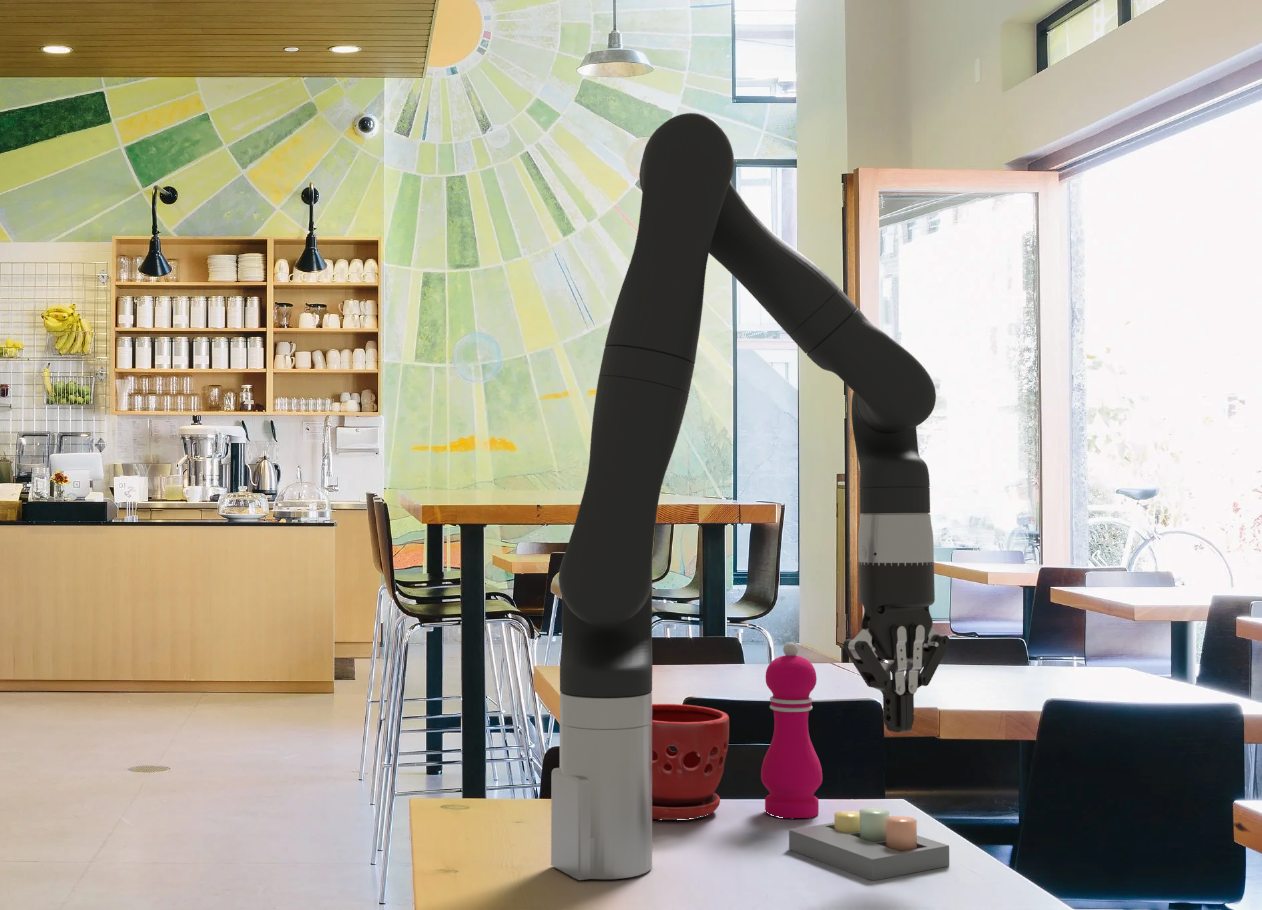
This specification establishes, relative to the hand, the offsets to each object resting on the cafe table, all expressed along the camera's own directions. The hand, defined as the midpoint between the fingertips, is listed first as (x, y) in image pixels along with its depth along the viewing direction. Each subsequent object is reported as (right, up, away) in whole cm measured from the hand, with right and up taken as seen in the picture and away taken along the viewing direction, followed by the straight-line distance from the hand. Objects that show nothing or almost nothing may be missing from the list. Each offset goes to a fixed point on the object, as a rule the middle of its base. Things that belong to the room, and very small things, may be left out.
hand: (899, 730), depth 123 cm
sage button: (-2, -12, +2) cm, 12 cm away
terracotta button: (0, -12, -1) cm, 12 cm away
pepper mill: (-8, -15, +20) cm, 26 cm away
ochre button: (-4, -13, +5) cm, 15 cm away
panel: (-3, -13, +1) cm, 14 cm away
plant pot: (-22, -15, +20) cm, 33 cm away
